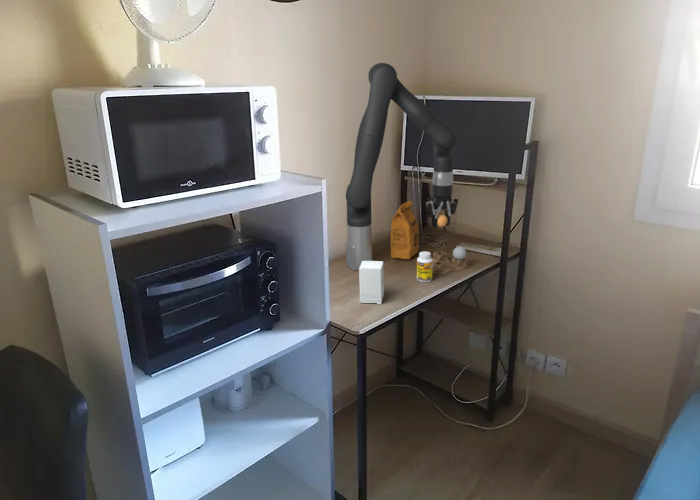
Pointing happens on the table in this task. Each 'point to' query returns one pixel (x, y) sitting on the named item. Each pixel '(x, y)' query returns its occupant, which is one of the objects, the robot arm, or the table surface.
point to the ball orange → (441, 220)
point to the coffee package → (404, 233)
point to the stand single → (440, 257)
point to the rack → (449, 266)
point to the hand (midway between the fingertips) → (440, 226)
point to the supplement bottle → (424, 267)
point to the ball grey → (459, 253)
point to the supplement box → (371, 282)
